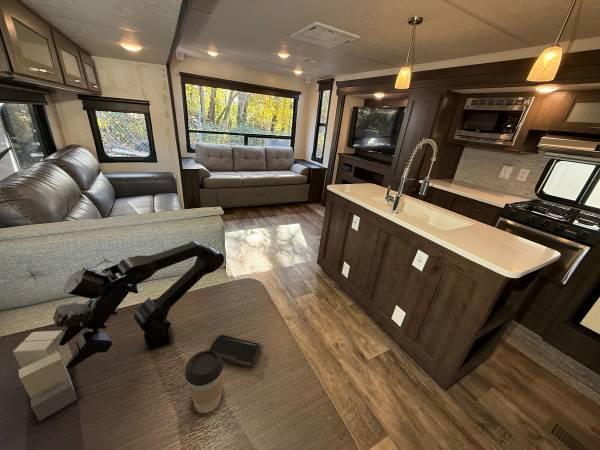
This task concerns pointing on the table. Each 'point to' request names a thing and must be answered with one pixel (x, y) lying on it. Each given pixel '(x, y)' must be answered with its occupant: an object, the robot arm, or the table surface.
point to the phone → (236, 350)
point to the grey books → (53, 400)
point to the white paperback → (44, 375)
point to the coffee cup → (205, 380)
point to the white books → (41, 348)
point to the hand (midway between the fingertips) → (64, 356)
